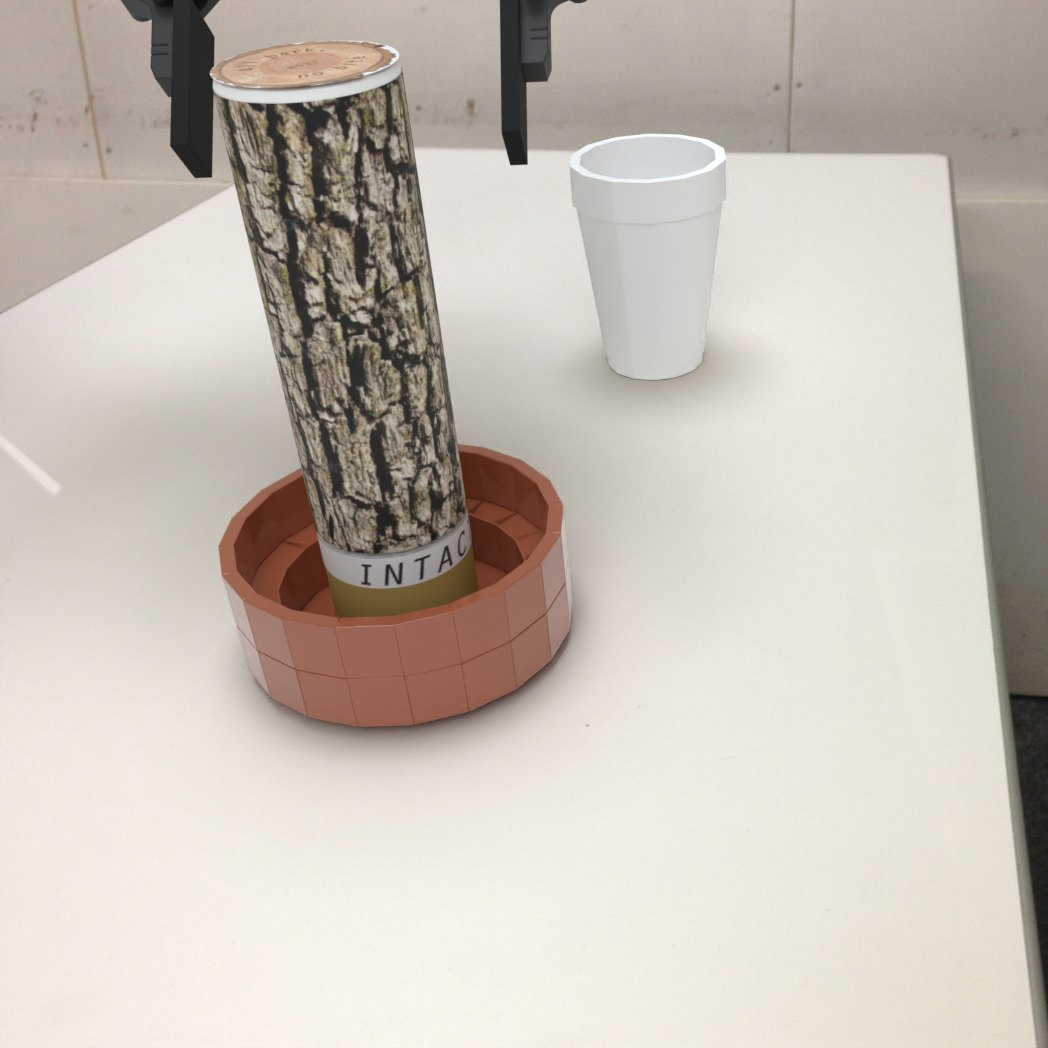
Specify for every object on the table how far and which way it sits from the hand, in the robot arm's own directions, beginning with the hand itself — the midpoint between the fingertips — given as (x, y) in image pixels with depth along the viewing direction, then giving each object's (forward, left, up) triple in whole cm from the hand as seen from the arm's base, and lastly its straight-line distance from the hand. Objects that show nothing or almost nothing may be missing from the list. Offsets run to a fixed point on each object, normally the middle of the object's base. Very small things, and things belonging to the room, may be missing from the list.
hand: (352, 156), depth 53 cm
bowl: (0, -5, -21) cm, 21 cm away
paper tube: (0, -5, -20) cm, 21 cm away
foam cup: (+12, +24, -21) cm, 34 cm away
